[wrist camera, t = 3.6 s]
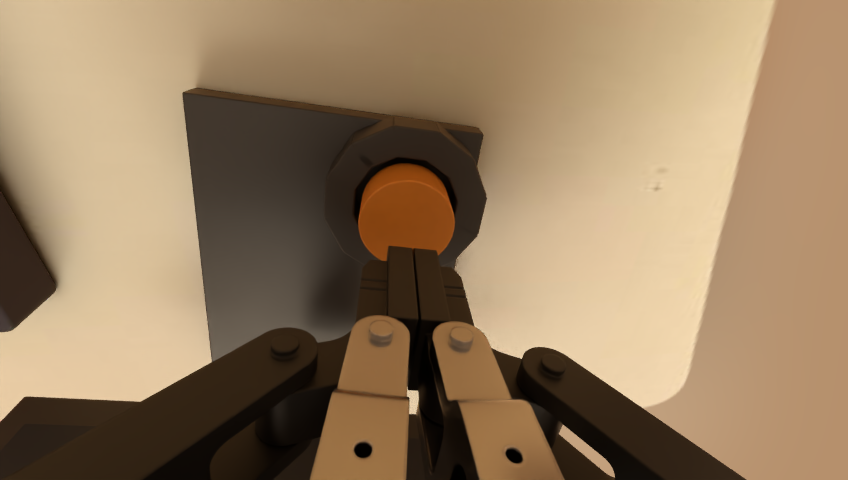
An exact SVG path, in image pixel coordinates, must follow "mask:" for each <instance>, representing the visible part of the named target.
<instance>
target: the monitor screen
mask: <svg viewBox="0 0 848 480" xmlns="http://www.w3.org/2000/svg"><path fill="white" fill-rule="evenodd" d="M138 403H140V402H133V401H111V400H90V399H68V398H46V397H24V398H23V399H22V400H21V401H20V402H19V403H18V404H17V405H16V406H15V407H14V408H13V409H12V410H11V411H10V413H9V414H8V415H7V416H6V417H5V418H4V419H3V420H2V421H1V422H0V480H1V479H3V478H5V477H6V476H8V475H10V474H12V473H14V472H15V471H17V470H19V469H21V468H23V467H24V466H26V465H28V464H30V463H32V462H33V461H35V460H37V459H39V458H41V457H42V456H44V455H46V454H48V453H50V452H51V451H53V450H55V449H57V448H59V447H60V446H62V445H64V444H66V443H68V442H69V441H71V440H73V439H75V438H77V437H78V436H80V435H82V434H84V433H86V432H87V431H89V430H91V429H93V428H95V427H96V426H98V425H100V424H102V423H104V422H105V421H107V420H109V419H111V418H113V417H114V416H116V415H118V414H120V413H122V412H123V411H125V410H127V409H129V408H131V407H132V406H134V405H136V404H138ZM319 441H320V438H316V439H312V442H311V444H310V445H309V447H308V448H307V449H306V450H305V451H304V452H303V453H302V454H301V455H300V456H299V457H298V458H296V459H295V460H294V461H293V462H292V463H291V464H290V465H289V466H288V467H286V468H285V469H284V470H283V471H282V472H281V473H280V474H279V475H277V476H276V477H275V478H274V479H273V480H310V476H311V472H312V468H313V465H314V461H315V457H316V453H317V449H318V445H319ZM406 480H425V474H424V467H423V461H422V454H421V447H420V441H419V434H418V427H417V421H416V414H409V425H408V448H407V470H406Z"/></svg>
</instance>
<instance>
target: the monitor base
mask: <svg viewBox="0 0 848 480" xmlns="http://www.w3.org/2000/svg"><path fill="white" fill-rule="evenodd" d="M183 103H184V112H185V121H186V130H187V139H188V148H189V157H190V166H191V175H192V184H193V194H194V203H195V212H196V221H197V230H198V239H199V248H200V257H201V266H202V275H203V284H204V293H205V302H206V311H207V320H208V330H209V339H210V348H211V357H212V362H213V361H215V360H217V359H219V358H221V357H222V356H224V355H226V354H228V353H230V352H231V351H233V350H235V349H237V348H239V347H240V346H242V345H244V344H246V343H248V342H249V341H251V340H253V339H255V338H257V337H258V336H260V335H262V334H264V333H266V332H268V331H270V330H273V329H277V328H284V327H292V328H298V329H302V330H305V331H307V332H309V333H310V334H311V335H313V336H314V338H315V339H316V341H317V343H319V342H325V341H330V340H335V339H338V338H340V337H342V336H344V335H346V334H347V333H348V332H350V331H351V330H352V327H353V326H354V324H355V322H356V315H357V307H358V299H359V290H360V282H361V273H362V267H363V266H364V265H365V264H366V263H367V262H368V261H369V260H370V259H371V260H380V259H378V258H377V257H375V256H374V255H373V254H372V253H371V252H370V251H369V250H368V249H367V248H366V246H365V245H364V243H363V241H362V239H361V237H360V233H359V228H358V219H359V213H360V207H361V201H362V195H363V192H364V189H365V187H366V185H367V183H368V182H369V180H370V179H371V178H372V177H373V176H374V175H375V174H376V173H377V172H379V171H380V170H382V169H384V168H386V167H388V166H391V165H394V164H399V163H411V164H417V165H420V166H423V167H425V168H427V169H429V170H430V171H432V172H433V173H434V174H436V175H437V176H438V177H439V179H440V180H441V181H442V183H443V184H444V186H445V188H446V191H447V194H448V197H449V200H450V203H451V206H452V210H453V213H454V219H455V226H454V232H453V235H452V238H451V240H450V242H449V244H448V245H447V247H446V248H445V249H444V250H443V251H442V252H441V253H440V254H439V255H438V258H439V263H440V266H442V267H452V268H453V269H454V268H455V264H456V259H457V257H458V256H459V255H460V254H461V253H462V252H463V251H464V249H465V248H466V247H467V246H468V245H469V244H470V243H471V242H472V241H473V240H474V239H475V238H476V237H477V234H478V233H479V229H480V225H481V220H482V216H483V212H484V208H485V204H486V199H487V198H486V193H485V190H484V187H483V184H482V181H481V178H480V175H479V172H478V169H477V163H478V158H479V153H480V149H481V144H482V140H483V133H482V132H481V131H480V129H479V128H476V127H469V126H462V125H455V124H448V123H441V122H434V121H428V120H421V119H414V118H407V117H399V116H391V115H384V114H377V113H370V112H363V111H356V110H349V109H341V108H334V107H327V106H320V105H313V104H306V103H299V102H292V101H285V100H278V99H270V98H263V97H256V96H249V95H242V94H235V93H228V92H221V91H214V90H207V89H199V88H194V89H191V90H188V91H186V92H183ZM407 386H408V381H407Z"/></svg>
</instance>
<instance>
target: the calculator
mask: <svg viewBox="0 0 848 480" xmlns="http://www.w3.org/2000/svg"><path fill="white" fill-rule="evenodd" d="M55 291H56V286H55V284H54V282H53V280H52V279H51V277H50V275H49V273H48V272H47V270H46V268H45V267H44V265H43V263H42V261H41V260H40V258H39V256H38V255H37V253H36V251H35V249H34V248H33V246H32V244H31V242H30V241H29V239H28V237H27V236H26V234H25V232H24V230H23V229H22V227H21V225H20V224H19V222H18V220H17V218H16V217H15V215H14V213H13V212H12V210H11V208H10V206H9V205H8V203H7V201H6V200H5V198H4V196H3V194H2V193H1V191H0V332H8V331H11V330H13V329H14V328H16V327H17V326H18V325H19V324H20V323H21V322H22V321H23V320H24V319H26V318H27V317H28V316H29V315H30V314H31V313H32V312H33V311H34V310H36V309H37V308H38V307H39V306H40V305H41V304H42V303H43V302H44V301H45V300H47V299H48V298H49V297H50V296H51V295H52V294H53V293H54V292H55Z"/></svg>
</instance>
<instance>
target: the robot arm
mask: <svg viewBox="0 0 848 480" xmlns="http://www.w3.org/2000/svg"><path fill="white" fill-rule="evenodd" d="M407 381H408V390H417V391H418V392H419V402H418V407H417V412H416V421H417V427H418V434H419V441H420V447H421V454H422V461H423V467H424V474H425V480H746V479H745V478H743V477H742V476H740V475H739V474H737V473H736V472H734V471H733V470H732V469H730V468H729V467H727V466H726V465H724V464H723V463H721V462H720V461H718V460H717V459H715V458H714V457H712V456H711V455H710V454H708V453H707V452H705V451H704V450H702V449H701V448H700V447H698V446H696V445H695V444H694V443H692V442H691V441H689V440H688V439H686V438H685V437H684V436H682V435H681V434H679V433H678V432H676V431H675V430H673V429H672V428H670V427H669V426H667V425H666V424H665V423H663V422H662V421H660V420H659V419H657V418H656V417H655V416H653V415H652V414H650V413H649V412H647V411H646V410H644V409H643V408H641V407H640V406H639V405H637V404H636V403H634V402H633V401H631V400H630V399H628V398H627V397H625V396H624V395H623V394H621V393H620V392H618V391H617V390H615V389H614V388H612V387H611V386H609V385H608V384H607V383H605V382H604V381H602V380H601V379H599V378H598V377H596V376H595V375H593V374H592V373H591V372H589V371H588V370H586V369H585V368H583V367H582V366H580V365H579V364H577V363H576V362H575V361H573V360H572V359H570V358H569V357H567V356H566V355H564V354H562V353H560V352H558V351H556V350H553V349H550V348H545V347H535V348H531V349H529V350H527V351H526V352H525V353H524V355H523V358H522V359H520V358H517V357H513V356H510V355H507V354H504V353H501V352H498V351H496V350H494V349H492V348H491V346H490V344H489V342H488V339H487V337H486V336H485V335H484V333H482V332H481V331H480V330H479V329H478V328H476V327H474V323H473V320H472V316H471V312H470V309H469V305H468V301H467V298H466V294H465V290H464V287H463V283H462V279H461V277H460V276H459V275H458V274H457V272H456V271H455V270H454V269H453V268H452V267H442V266H440V263H439V258H438V253H437V250H429V249H419V248H413V250H412V248H409V247H399V246H388V252H387V259H386V261H381V260H371V259H370V260H369V261H368V262H367V263H366V264H365V265H364V266H363V267H362V273H361V282H360V290H359V299H358V307H357V315H356V322H355V324H354V326H353V327H352V330H351V331H350V332H348V333H347V334H346V335H344V336H342V337H340V338H338V339H335V340H330V341H325V342H319V343H317V341H316V339H315V338H314V336H313V335H311V334H310V333H309V332H307V331H305V330H302V329H298V328H292V327H284V328H277V329H273V330H270V331H268V332H266V333H264V334H262V335H260V336H258V337H257V338H255V339H253V340H251V341H249V342H248V343H246V344H244V345H242V346H240V347H239V348H237V349H235V350H233V351H231V352H230V353H228V354H226V355H224V356H222V357H221V358H219V359H217V360H215V361H213V362H212V363H210V364H208V365H206V366H204V367H203V368H201V369H199V370H197V371H195V372H194V373H192V374H190V375H188V376H186V377H185V378H183V379H181V380H179V381H177V382H176V383H174V384H172V385H170V386H168V387H167V388H165V389H163V390H161V391H159V392H158V393H156V394H154V395H152V396H150V397H149V398H147V399H145V400H143V401H141V402H140V403H138V404H136V405H134V406H132V407H131V408H129V409H127V410H125V411H123V412H122V413H120V414H118V415H116V416H114V417H113V418H111V419H109V420H107V421H105V422H104V423H102V424H100V425H98V426H96V427H95V428H93V429H91V430H89V431H87V432H86V433H84V434H82V435H80V436H78V437H77V438H75V439H73V440H71V441H69V442H68V443H66V444H64V445H62V446H60V447H59V448H57V449H55V450H53V451H51V452H50V453H48V454H46V455H44V456H42V457H41V458H39V459H37V460H35V461H33V462H32V463H30V464H28V465H26V466H24V467H23V468H21V469H19V470H17V471H15V472H14V473H12V474H10V475H8V476H6V477H5V478H3V479H1V480H273V479H274V478H275V477H276V476H277V475H279V474H280V473H281V472H282V471H283V470H284V469H285V468H286V467H288V466H289V465H290V464H291V463H292V462H293V461H294V460H295V459H296V458H298V457H299V456H300V455H301V454H302V453H303V452H304V451H305V450H306V449H307V448H308V447H309V445H310V444H311V442H312V439H316V438H320V441H319V445H318V449H317V453H316V457H315V461H314V465H313V468H312V472H311V476H310V480H406V470H407V448H408V425H409V397H407ZM562 425H565V426H566V427H567V428H568V429H570V430H571V431H572V432H573V433H574V434H576V435H577V436H578V437H579V438H581V439H582V440H583V441H584V442H586V443H587V444H588V445H589V446H590V447H592V448H593V449H594V450H595V451H597V452H598V453H599V454H600V455H602V456H603V457H604V458H605V459H606V460H607V461H608V462H609V463H610V465H611V466H612V468H613V470H614V473H615V478H614V477H611V476H609V475H607V474H606V473H605V472H603V471H602V470H601V469H600V468H598V467H597V466H596V465H595V464H594V463H592V462H591V461H590V460H589V459H588V458H587V457H585V456H584V455H583V454H582V453H581V452H579V451H578V450H577V449H576V448H574V447H573V446H572V445H571V444H570V443H569V442H567V441H566V440H565V439H564V438H563V437H561V436H560V435H559V432H560V429H561V427H562Z"/></svg>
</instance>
